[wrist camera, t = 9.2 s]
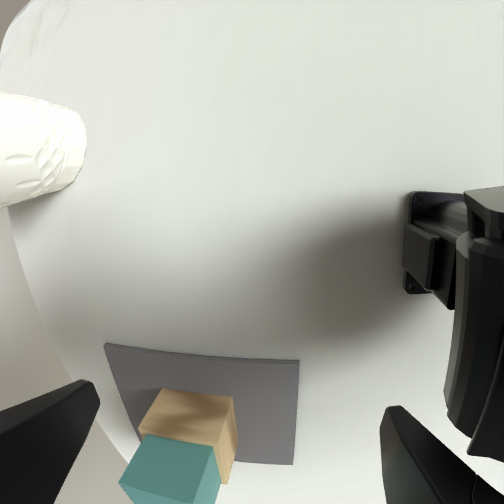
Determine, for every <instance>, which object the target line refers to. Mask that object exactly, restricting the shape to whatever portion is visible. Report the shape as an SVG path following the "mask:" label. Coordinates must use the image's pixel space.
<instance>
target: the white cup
mask: <svg viewBox="0 0 504 504" xmlns="http://www.w3.org/2000/svg"><path fill="white" fill-rule="evenodd" d="M86 148H87V141H86V130H85V125H84V123H83V122H82V120H81V118H80V116H79V114H78V113H77V112H75V111H73V110H71V109H69V108H67V107H65V106H60V105H56V104H51V103H50V102H48V101H44V100H40V99H36V98H33V97H29V96H25V95H20V94H14V93H9V92H3V91H0V208H2V207H6V206H9V205H13V204H16V203H18V202H21V201H25V200H29V199H32V198H35V197H37V196H39V195H42V194H46V193H50V192H55V191H59V190H62V189H63V188H65V187H66V186H68V185H69V184H70V183H72V182H73V181H74V180H75V178H76V176H77V174H78V173H79V171H80V169H81V167H82V166H83V162H84V157H85V152H86Z"/></svg>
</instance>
